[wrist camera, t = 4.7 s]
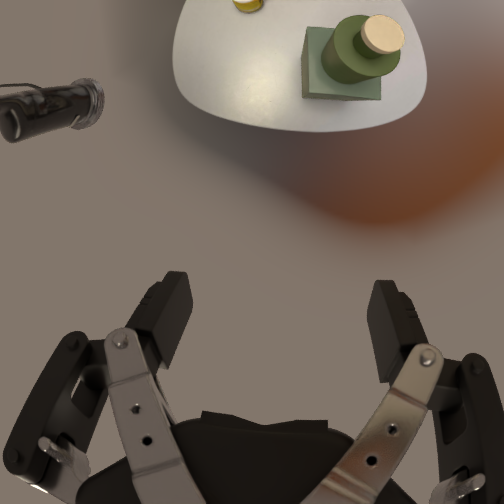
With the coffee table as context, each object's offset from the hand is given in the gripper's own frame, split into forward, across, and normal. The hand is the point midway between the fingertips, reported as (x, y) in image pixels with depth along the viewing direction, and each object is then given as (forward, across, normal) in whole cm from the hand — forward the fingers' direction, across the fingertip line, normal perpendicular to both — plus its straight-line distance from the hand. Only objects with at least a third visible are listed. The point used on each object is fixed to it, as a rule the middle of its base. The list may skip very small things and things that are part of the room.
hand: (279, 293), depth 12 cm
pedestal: (+40, -6, -12) cm, 42 cm away
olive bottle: (+20, -6, -12) cm, 24 cm away
